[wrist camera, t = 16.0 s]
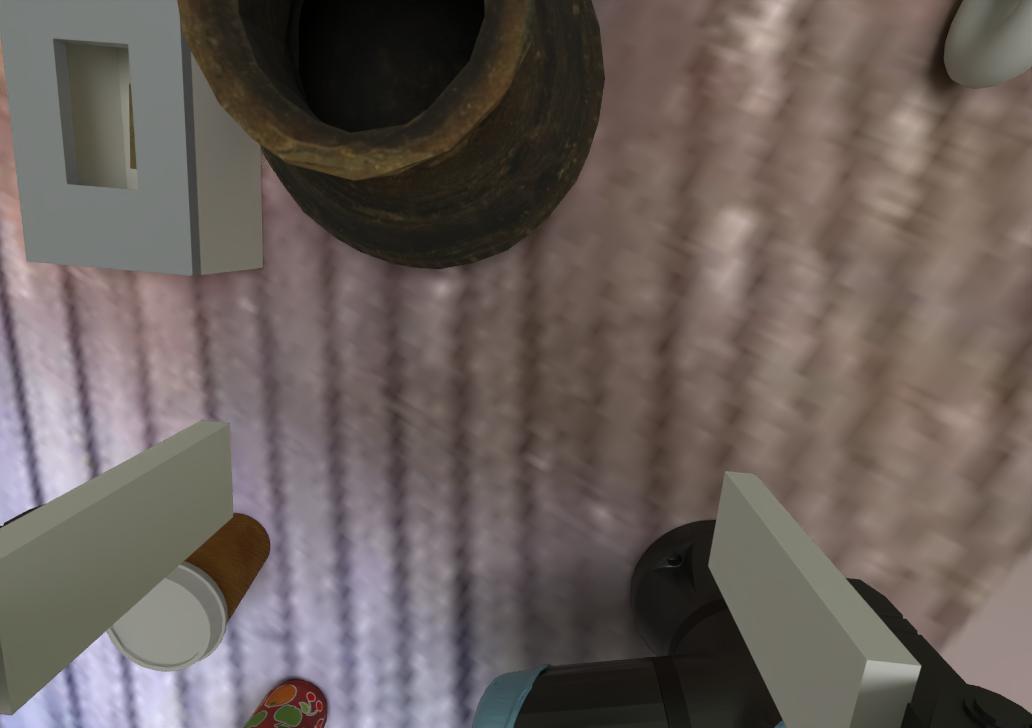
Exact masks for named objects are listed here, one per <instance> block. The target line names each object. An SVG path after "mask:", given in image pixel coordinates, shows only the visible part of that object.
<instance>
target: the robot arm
mask: <svg viewBox="0 0 1032 728" xmlns="http://www.w3.org/2000/svg"><path fill="white" fill-rule="evenodd" d="M232 517H233V496H232V469H231V442H230V423H225V422H214V421H204V420H201V421H200V422H198V423H196V424H194V425H192V426H190V427H188V428H187V429H185V430H183V431H181V432H179V433H177V434H175V435H173V436H172V437H170V438H168V439H166V440H164V441H162V442H160V443H159V444H157V445H155V446H153V447H151V448H149V449H147V450H145V451H144V452H142V453H140V454H138V455H136V456H134V457H132V458H131V459H129V460H127V461H125V462H123V463H121V464H119V465H118V466H116V467H114V468H112V469H110V470H108V471H106V472H104V473H103V474H101V475H99V476H97V477H95V478H93V479H91V480H90V481H88V482H86V483H84V484H82V485H80V486H78V487H77V488H75V489H73V490H71V491H69V492H67V493H65V494H63V495H62V496H60V497H58V498H56V499H54V500H52V501H50V502H49V503H47V504H44V505H41V506H38V507H35V508H32V509H30V510H28V511H26V512H24V513H22V514H20V515H18V516H16V517H14V518H13V519H11V520H9V521H7V522H5V523H4V525H3V526H0V714H4V715H13V714H14V713H15V712H16V711H17V710H18V709H20V708H21V707H22V706H23V705H24V704H25V703H26V702H27V701H28V700H30V699H31V698H32V697H33V696H34V695H35V694H36V693H37V692H39V691H40V690H41V689H42V688H43V687H44V686H45V685H46V684H47V683H49V682H50V681H51V680H52V679H53V678H54V677H55V676H56V675H57V674H59V673H60V672H61V671H62V670H63V669H64V668H65V667H66V666H67V665H69V664H70V663H71V662H72V661H73V660H74V659H75V658H76V657H78V656H79V655H80V654H81V653H82V652H83V651H84V650H85V649H86V648H88V647H89V646H90V645H91V644H92V643H93V642H94V641H95V640H96V639H98V638H99V637H100V636H101V635H102V634H103V633H104V632H105V631H106V630H108V629H109V628H110V627H111V626H112V625H113V624H114V623H115V622H117V621H118V620H119V619H120V618H121V617H122V616H123V615H124V614H125V613H127V612H128V611H129V610H130V609H131V608H132V607H133V606H134V605H135V604H137V603H138V602H139V601H140V600H141V599H142V598H143V597H144V596H145V595H147V594H148V593H149V592H150V591H151V590H152V589H153V588H154V587H156V586H157V585H158V584H159V583H160V582H161V581H162V580H163V579H164V578H166V577H167V576H168V575H169V574H170V573H171V572H172V571H173V570H174V569H176V568H177V567H178V566H179V565H180V564H181V563H182V562H183V561H184V560H186V559H187V558H188V557H189V556H190V555H191V554H192V553H193V552H195V551H196V550H197V549H198V548H199V547H200V546H201V545H202V544H203V543H205V542H206V541H207V540H208V539H209V538H210V537H211V536H212V535H213V534H215V533H216V532H217V531H218V530H219V529H220V528H221V527H222V526H223V525H225V524H226V523H227V522H228V521H229V520H230V519H231V518H232ZM631 603H632V608H633V612H634V616H635V621H636V624H637V627H638V630H639V632H640V634H641V636H642V638H643V640H644V641H645V643H646V645H647V646H648V647H649V648H650V650H651V651H652V652H653V653H654V654H655V655H656V657H646V658H636V659H626V660H616V661H604V662H593V663H581V664H570V665H558V666H552V665H550V664H544V665H541V666H539V667H538V668H537V669H531V670H525V671H518V672H512V673H506V674H503V675H500V676H499V677H497V678H496V679H494V680H493V681H492V682H491V684H490V685H489V686H488V687H487V689H486V690H485V693H484V694H483V696H482V697H481V699H480V702H479V704H478V707H477V710H476V713H475V716H474V720H473V724H472V728H1032V714H1031V713H1029V712H1028V711H1027V710H1025V709H1024V708H1023V707H1022V706H1020V705H1018V704H1016V703H1014V702H1013V701H1011V700H1009V699H1007V698H1005V697H1004V696H1002V695H1000V694H997V693H995V692H992V691H990V690H987V689H984V688H981V687H979V686H974V685H969V684H966V682H964V680H963V679H962V678H961V677H960V676H959V675H958V674H957V673H956V672H955V671H954V670H953V669H952V667H951V666H950V665H949V664H948V663H947V662H946V661H945V660H944V659H943V658H942V657H941V656H940V655H939V654H938V653H937V651H936V650H935V649H934V648H933V647H932V646H931V645H930V644H929V643H928V642H927V641H926V640H925V639H924V638H923V636H922V635H918V633H917V630H916V629H915V628H914V627H913V626H912V625H911V624H910V623H909V621H908V620H907V619H903V615H902V614H901V613H900V612H899V611H898V610H897V609H896V608H895V606H894V605H893V604H892V603H891V602H890V601H889V600H888V599H887V598H886V597H885V596H884V595H882V594H881V593H879V592H878V591H876V590H875V589H873V588H872V587H870V586H869V585H867V584H866V583H864V582H863V581H861V580H859V579H849V578H845V577H844V576H843V575H842V574H841V573H840V572H839V570H838V569H837V568H836V567H835V566H834V565H833V563H832V562H831V561H830V560H829V559H828V558H827V557H826V555H825V554H824V553H823V552H822V551H821V550H820V548H819V547H818V546H817V545H816V544H815V543H814V542H813V540H812V539H811V538H810V537H809V536H808V535H807V534H806V532H805V531H804V530H803V529H802V528H801V527H800V525H799V524H798V523H797V522H796V521H795V520H794V519H793V517H792V516H791V515H790V514H789V513H788V512H787V510H786V509H785V508H784V507H783V506H782V505H781V504H780V502H779V501H778V500H777V499H776V498H775V497H774V495H773V494H772V493H771V492H770V491H769V490H768V489H767V487H766V486H765V485H764V484H763V483H762V482H761V481H760V479H759V478H758V477H757V476H756V475H755V474H749V473H739V472H728V471H725V474H724V480H723V486H722V491H721V497H720V502H719V508H718V513H717V519H716V521H703V522H697V523H692V524H689V525H685V526H682V527H680V528H678V529H675V530H673V531H671V532H669V533H668V534H666V535H665V536H663V537H662V538H660V539H659V540H658V541H656V542H655V543H654V544H653V545H652V546H651V547H650V548H649V549H648V550H647V552H646V553H645V554H644V555H643V557H642V558H641V560H640V562H639V563H638V565H637V568H636V570H635V573H634V576H633V579H632V584H631Z"/></svg>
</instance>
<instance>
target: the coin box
mask: <svg viewBox="0 0 1032 728" xmlns="http://www.w3.org/2000/svg"><path fill="white" fill-rule="evenodd" d="M0 35H1V43H2V52H3V60H4V69H5V78H6V86H7V95H8V104H9V112H10V121H11V130H12V138H13V147H14V155H15V164H16V173H17V181H18V190H19V199H20V207H21V216H22V225H23V233H24V242H25V250H26V259H27V261H28V262H39V263H51V264H62V265H73V266H85V267H96V268H107V269H119V270H130V271H141V272H153V273H164V274H175V275H187V276H197V275H206V274H214V273H223V272H232V271H240V270H249V269H258V268H263V236H262V189H261V147H260V144H259V143H258V142H256V141H255V140H253V139H252V138H251V137H250V136H249V135H248V134H247V133H246V132H245V131H244V130H243V129H242V128H241V126H240V125H239V124H238V123H237V122H236V121H235V120H234V119H233V118H232V117H231V116H230V115H229V114H228V113H227V112H226V111H225V110H224V109H223V107H222V106H221V105H220V104H219V102H218V101H217V99H216V97H215V95H214V93H213V91H212V89H211V88H210V86H209V84H208V82H207V80H206V78H205V76H204V74H203V73H202V71H201V69H200V67H199V65H198V63H197V61H196V60H195V58H194V56H193V54H192V52H191V50H190V48H189V47H188V45H187V43H186V41H185V39H184V36H183V31H182V25H181V20H180V14H179V8H178V3H177V0H0ZM129 84H131V93H132V107H133V122H134V136H135V150H136V165H137V169H130V129H129Z"/></svg>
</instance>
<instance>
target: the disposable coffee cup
mask: <svg viewBox="0 0 1032 728" xmlns="http://www.w3.org/2000/svg"><path fill="white" fill-rule="evenodd" d="M269 552H270V541H269V538H268V535H267V533H266V531H265V529H264V528H263V527H262V526H261V525H260V524H259V523H258V522H257V521H256V520H254V519H253V518H251V517H249V516H246V515H243V514H236V513H233V517H232V518H231V519H230V520H229V521H228V522H227V523H226V524H225V525H223V526H222V527H221V528H220V529H219V530H218V531H217V532H216V533H215V534H213V535H212V536H211V537H210V538H209V539H208V540H207V541H206V542H205V543H203V544H202V545H201V546H200V547H199V548H198V549H197V550H196V551H195V552H193V553H192V554H191V555H190V556H189V557H188V558H187V559H186V560H184V561H183V562H182V563H181V564H180V565H179V566H178V567H177V568H176V569H174V570H173V571H172V572H171V573H170V574H169V575H168V576H167V577H166V578H164V579H163V580H162V581H161V582H160V583H159V584H158V585H157V586H156V587H154V588H153V589H152V590H151V591H150V592H149V593H148V594H147V595H145V596H144V597H143V598H142V599H141V600H140V601H139V602H138V603H137V604H135V605H134V606H133V607H132V608H131V609H130V610H129V611H128V612H127V613H125V614H124V615H123V616H122V617H121V618H120V619H119V620H118V621H117V622H115V623H114V624H113V625H112V626H111V627H110V628H109V629H108V630H106V632H107V634H108V636H109V638H110V640H111V641H112V643H113V644H114V645H115V647H116V648H117V649H118V650H119V651H120V652H121V653H122V654H123V655H124V656H125V657H127V658H128V659H130V660H131V661H133V662H135V663H136V664H138V665H140V666H142V667H145V668H149V669H152V670H157V671H164V672H166V671H177V670H181V669H185V668H187V667H189V666H191V665H193V664H194V663H195V662H198V661H201V660H202V659H204V658H206V657H208V656H209V655H210V654H211V653H212V652H213V651H215V650H216V648H217V647H218V646H219V644H220V643H221V641H222V638H223V636H224V634H225V631H226V625H227V623H228V621H229V619H230V618H231V616H232V615H233V613H234V611H235V610H236V608H237V607H238V605H239V603H240V601H241V600H242V598H243V597H244V595H245V593H246V592H247V590H248V589H249V587H250V585H251V584H252V582H253V580H254V579H255V577H256V575H257V574H258V572H259V571H260V569H261V567H262V566H263V564H264V562H265V561H266V559H267V558H268V555H269Z"/></svg>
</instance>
